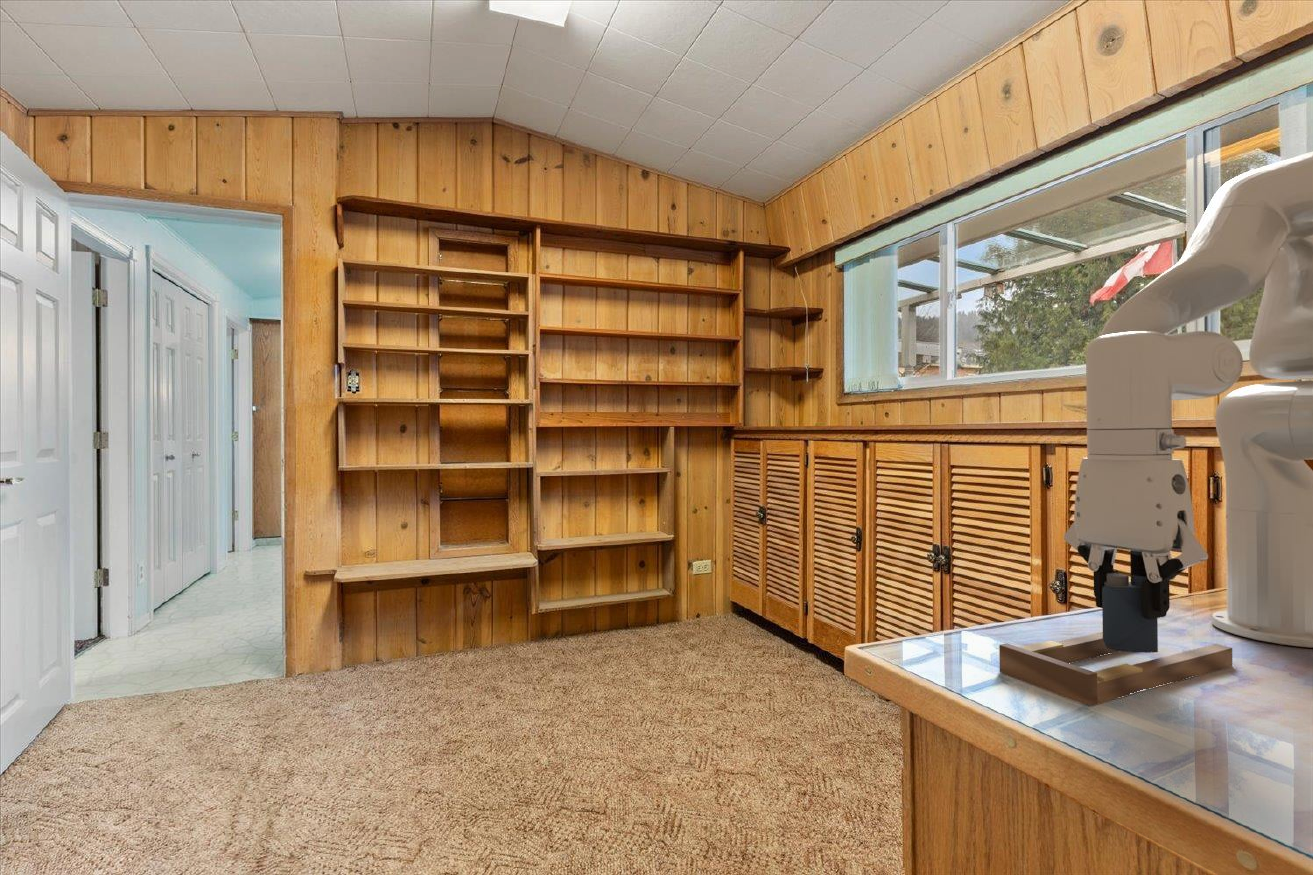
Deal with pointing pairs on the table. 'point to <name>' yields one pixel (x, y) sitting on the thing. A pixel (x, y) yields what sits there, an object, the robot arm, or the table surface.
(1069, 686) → the rail channel
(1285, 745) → the table surface
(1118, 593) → the vaping device
